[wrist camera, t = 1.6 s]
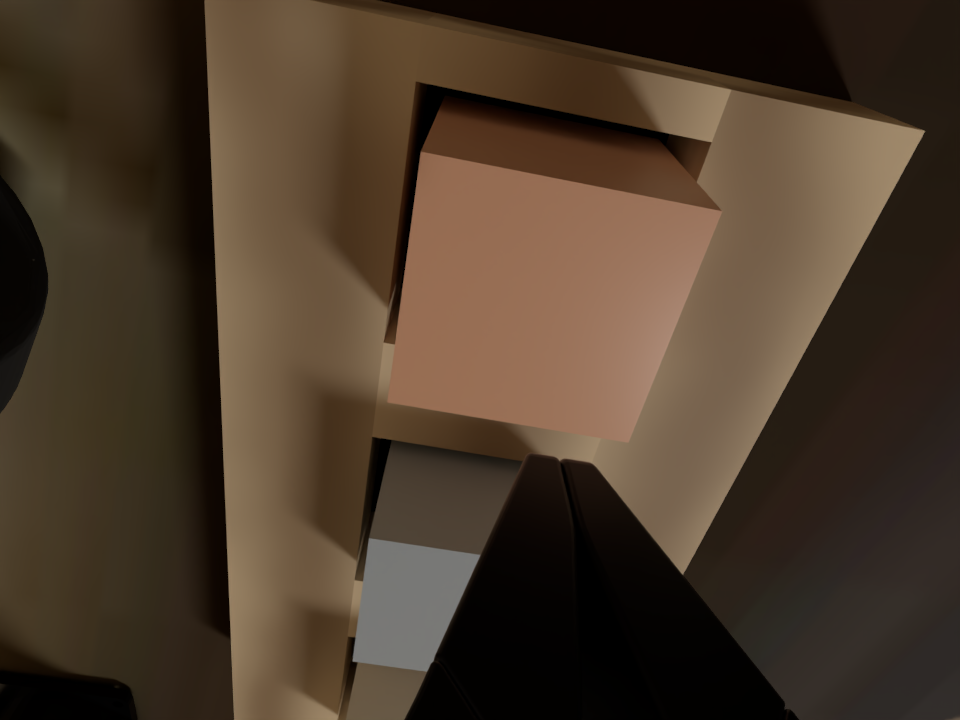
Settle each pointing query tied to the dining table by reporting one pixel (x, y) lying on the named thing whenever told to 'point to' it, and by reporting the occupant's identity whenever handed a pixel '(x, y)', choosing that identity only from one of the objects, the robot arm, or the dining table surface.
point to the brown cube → (544, 270)
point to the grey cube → (425, 548)
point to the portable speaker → (18, 290)
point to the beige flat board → (377, 295)
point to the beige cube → (383, 692)
